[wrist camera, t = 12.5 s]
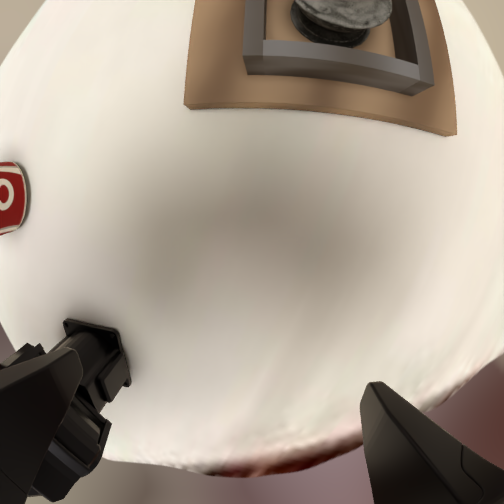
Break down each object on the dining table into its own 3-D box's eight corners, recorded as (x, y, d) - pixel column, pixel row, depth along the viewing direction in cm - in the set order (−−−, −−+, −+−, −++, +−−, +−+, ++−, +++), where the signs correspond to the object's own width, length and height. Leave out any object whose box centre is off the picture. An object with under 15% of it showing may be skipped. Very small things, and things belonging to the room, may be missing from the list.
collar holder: (190, 109, 16) (165, 91, 12) (207, -34, 12) (195, -66, 8) (445, 136, 15) (483, 131, 11) (422, -7, 11) (444, -30, 7)
